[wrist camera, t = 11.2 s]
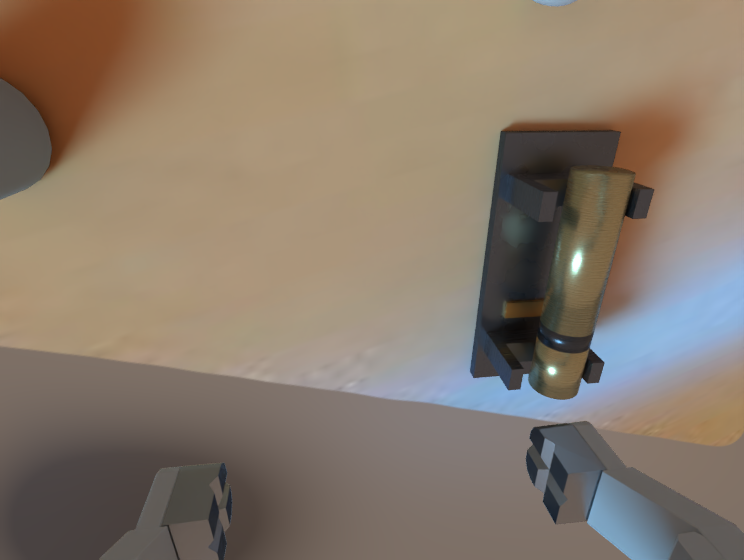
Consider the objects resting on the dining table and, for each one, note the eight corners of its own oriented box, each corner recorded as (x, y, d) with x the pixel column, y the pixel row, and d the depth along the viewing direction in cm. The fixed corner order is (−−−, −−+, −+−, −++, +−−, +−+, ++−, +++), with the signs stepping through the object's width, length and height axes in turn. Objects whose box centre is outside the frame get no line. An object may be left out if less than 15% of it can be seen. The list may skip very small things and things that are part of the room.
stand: (500, 131, 32) (543, 143, 27) (612, 130, 34) (676, 142, 28) (470, 371, 42) (496, 419, 36) (557, 364, 43) (597, 410, 37)
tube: (558, 169, 30) (615, 179, 27) (590, 163, 32) (647, 172, 29) (518, 379, 38) (559, 406, 35) (546, 364, 40) (587, 387, 37)
